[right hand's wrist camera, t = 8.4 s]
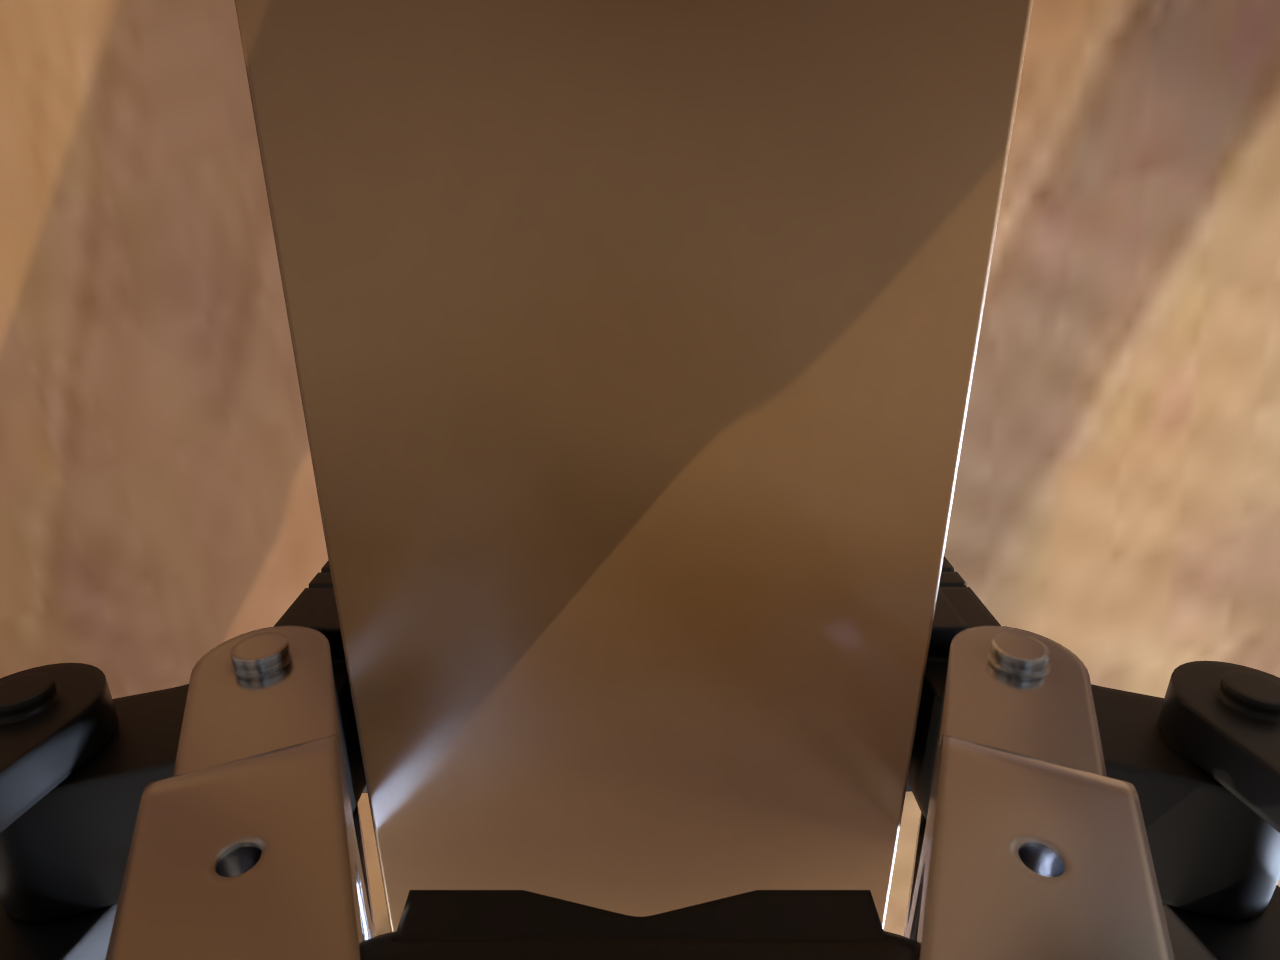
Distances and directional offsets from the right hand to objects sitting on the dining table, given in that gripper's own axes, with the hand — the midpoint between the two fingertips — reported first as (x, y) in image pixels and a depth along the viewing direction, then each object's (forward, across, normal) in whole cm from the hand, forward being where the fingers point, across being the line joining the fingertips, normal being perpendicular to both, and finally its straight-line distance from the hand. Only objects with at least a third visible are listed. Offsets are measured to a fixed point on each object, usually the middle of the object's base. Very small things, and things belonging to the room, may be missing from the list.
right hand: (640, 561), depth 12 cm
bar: (+5, 0, +8) cm, 9 cm away
